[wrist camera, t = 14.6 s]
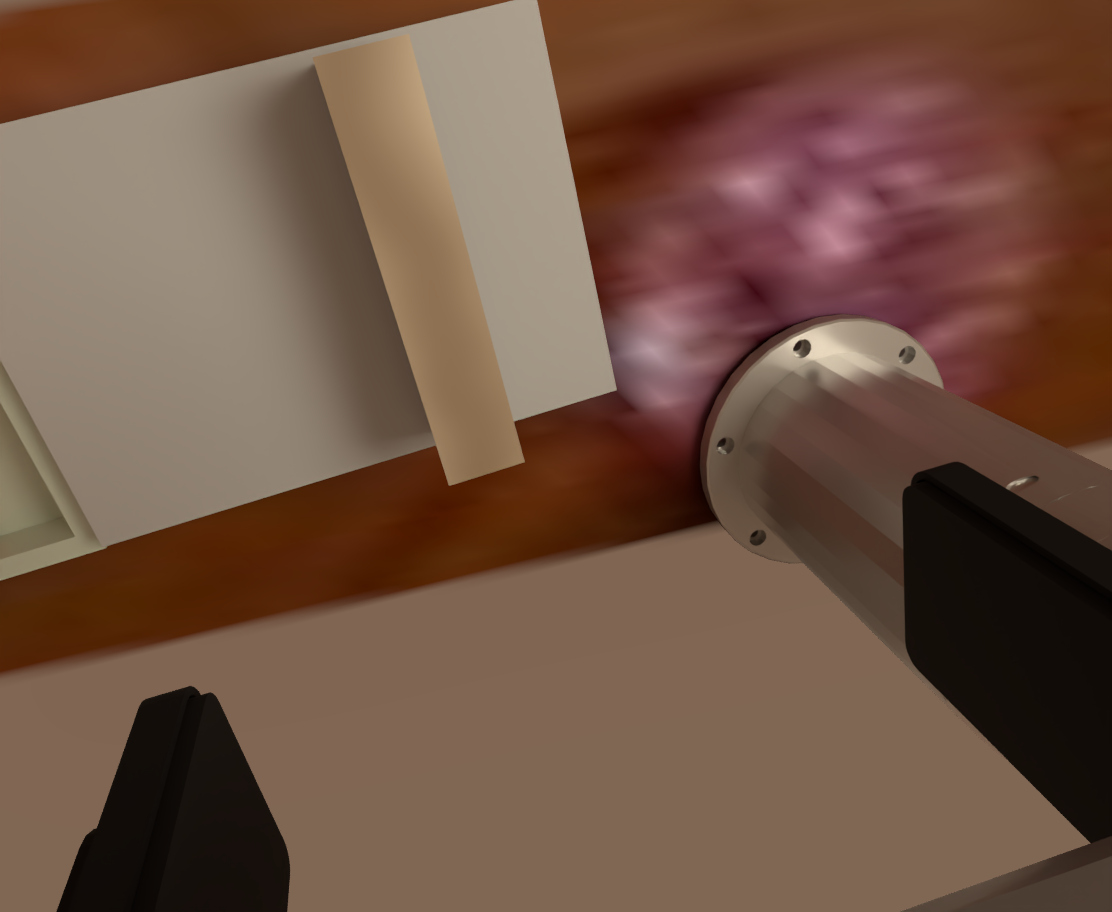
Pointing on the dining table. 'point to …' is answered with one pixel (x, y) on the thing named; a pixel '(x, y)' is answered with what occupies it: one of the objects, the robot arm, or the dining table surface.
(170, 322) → the bench board
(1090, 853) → the robot arm
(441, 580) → the dining table surface
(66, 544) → the box
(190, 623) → the dining table surface
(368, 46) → the tan long block
